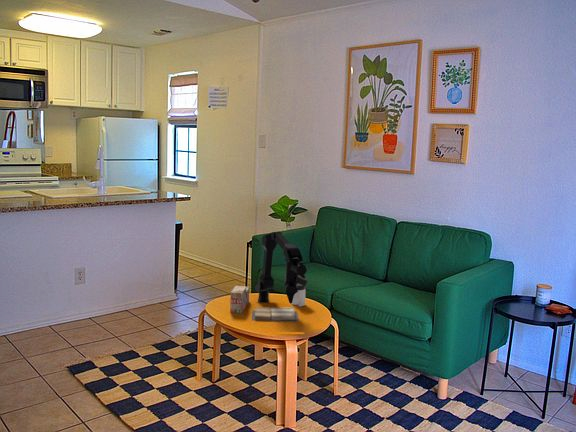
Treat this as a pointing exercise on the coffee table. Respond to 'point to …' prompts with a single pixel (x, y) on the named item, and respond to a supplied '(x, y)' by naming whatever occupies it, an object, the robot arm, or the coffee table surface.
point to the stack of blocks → (239, 299)
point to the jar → (299, 296)
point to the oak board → (262, 313)
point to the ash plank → (283, 313)
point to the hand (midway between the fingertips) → (290, 300)
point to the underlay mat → (275, 320)
